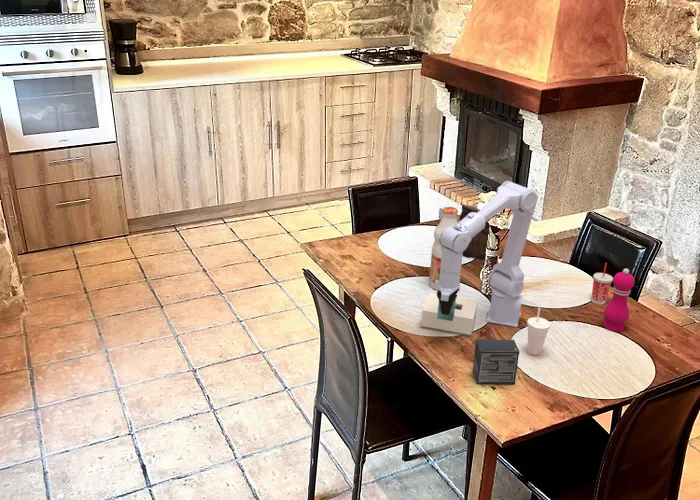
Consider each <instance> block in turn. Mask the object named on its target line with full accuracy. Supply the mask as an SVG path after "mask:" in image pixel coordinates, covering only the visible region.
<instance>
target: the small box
mask: <svg viewBox="0 0 700 500" xmlns="http://www.w3.org/2000/svg"><path fill="white" fill-rule="evenodd" d="M473 355H474V356H473V362H472V363H473V364H472V370H471V371H472V375H473V378H474V381H475V384H476V385H516V378H517V371H518V364H519V356H520V350H519V347H518V346H517V343H516V341H515V340H514V339H487V338H486V339H479V338H478V339H475V346H474V354H473Z"/></svg>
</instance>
